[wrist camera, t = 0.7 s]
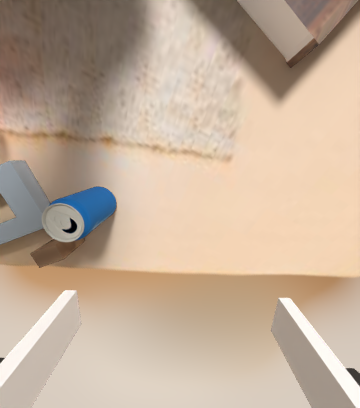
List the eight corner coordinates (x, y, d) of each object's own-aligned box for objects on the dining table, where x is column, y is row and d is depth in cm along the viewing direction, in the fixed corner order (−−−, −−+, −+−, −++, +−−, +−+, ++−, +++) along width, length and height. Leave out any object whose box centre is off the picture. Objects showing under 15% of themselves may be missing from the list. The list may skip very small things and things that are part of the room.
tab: (57, 236, 37) (30, 253, 30) (78, 228, 36) (54, 244, 29) (65, 247, 37) (39, 267, 31) (85, 240, 37) (63, 259, 30)
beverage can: (106, 222, 36) (71, 253, 24) (79, 203, 35) (29, 226, 23) (124, 199, 35) (95, 220, 23) (96, 179, 33) (52, 190, 22)
